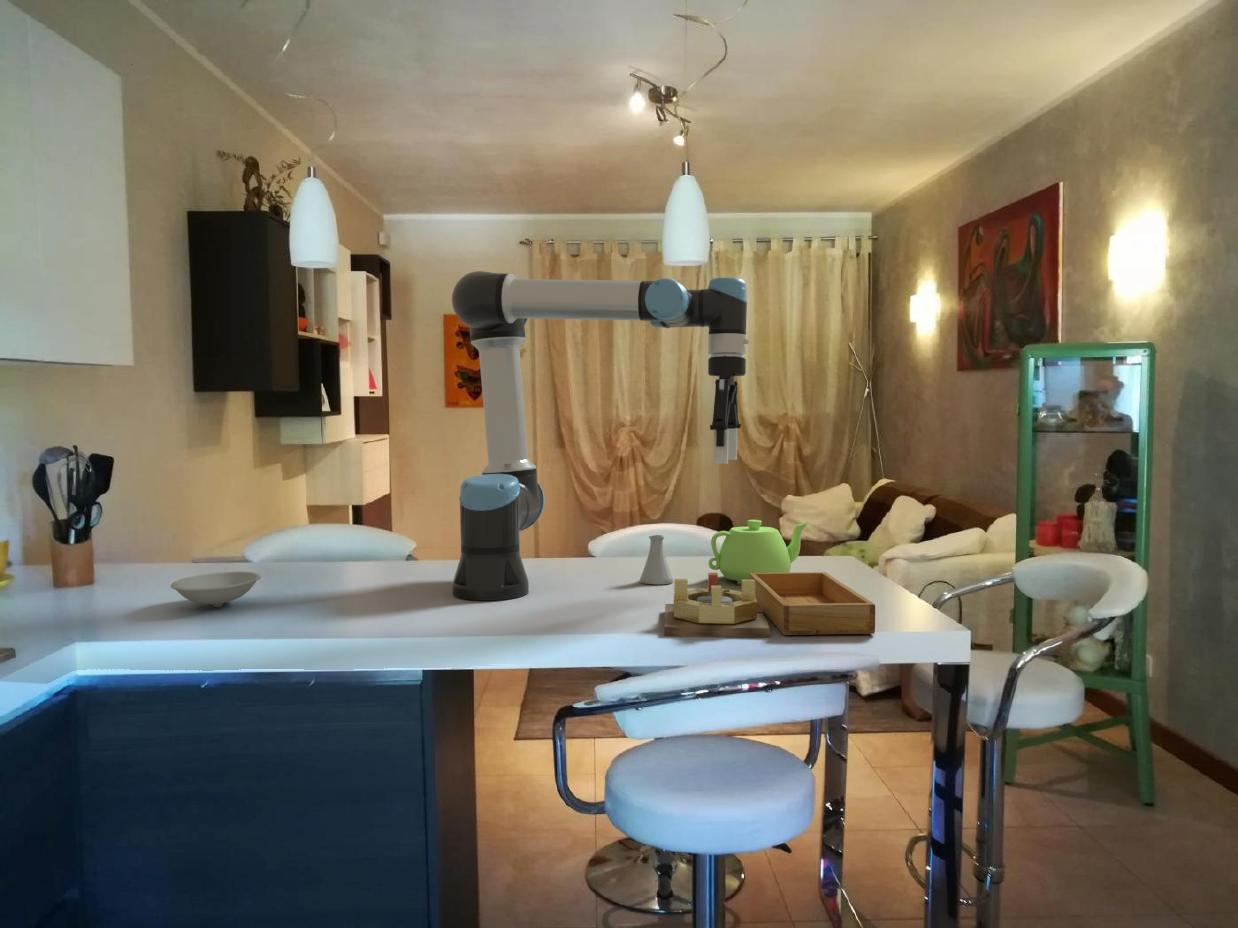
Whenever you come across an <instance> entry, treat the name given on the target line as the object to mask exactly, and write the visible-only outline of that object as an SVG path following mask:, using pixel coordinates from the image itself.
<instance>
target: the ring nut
mask: <svg viewBox="0 0 1238 928" xmlns="http://www.w3.org/2000/svg"><path fill="white" fill-rule="evenodd" d="M707 575H708V577H707V580H708V581H707V583H708V584H707V588H694V589H689V590H688V581H689V580H688V578H674V593H673V604H674V617H676V618H680V619H684V620H688V621H692V622H696V623H726V624H735V623H739V622H743V621H747V620H751V619H755V618H757V600H756V598H755V580H746V579H742V585H741V591H739V590H734V589H730V588H729V589H728V588H722V585H719V574H718V572H707ZM709 595H711V603H702V602H698V601H697V598H698V597H701V596H709ZM722 596H726V597H729V598H731V599H732V602H731V603H722Z"/></svg>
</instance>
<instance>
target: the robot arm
mask: <svg viewBox="0 0 1238 928" xmlns="http://www.w3.org/2000/svg"><path fill="white" fill-rule="evenodd" d="M747 297H748V296H747V283H746V281H744V279H742V278H739V277H729V276H728V277H724V276H723V277H714V278H712V279H710V280H709V283H708V287H707V288H703V289H686V288H685V287H684V285H683V284H682V283H681V282H680V281H678V280H677V281H676V280H675V279H673V278H668V277H667V278H664V277H663V278H659V279H656V280H619V279H618V280H615V279H614V280H613V279H611V280H608V279H607V280H606V279H603V280H602V279H550V278H549V279H547V278H546V279H543V278H542V279H541V278H538V279H537V278H535V279H533V278H517V277H516V275H514V274H513V273H500V272H491V271H490V272H489V271H482V270H479V271H471V272H468V273H467V274H465V275H463V276H462V277H460V279H459V280H458V281H457V283H456V284H455V286H454V287H453V291H452V294H451V302H452V303H451V304H452V308H453V311H454V313H455V315H456V316H457V318H458V319H459V321H460V322H462V324H464V325H465V326H468V327H469V336H470V337H469V338H470V344H471V345H472V346H473V347H475V348H476V349H477V351H478V355H479V357H478V358H479V365H480V378H481V389H482V390H481V392H482V402H483V404H482V405H483V414H484V426H485V427H484V428H485V437H486V438H485V439H486V450H487V461H488V462H487V465H486V466H485V467H484V468H483V470H482V471H481V475H474V476H470V477H468V478H466V479H464V480H463V481H462V483H461V485H460V491H459V493H460V494H459V500H458V501H459V513H460V515H459V517H460V522H459V523H460V557H459V562H458V565H457V568H456V571H455V574H454V578H453V581H452V596H453V597H456V598H459V599H463V600H470V601H499V600H500V601H501V600H511V599H514V598H515V599H516V598H520V597H523V596H525V595H528V594H529V587H530V586H529V583H530V582H529V577H528V575H527V572H526V570H525V567H524V563H523V560H522V556H521V554H520V553H521V552H520V547H521V546H520V543H521V542H520V532H521V531H525V530H527V529H529V528H530V527H531V526H533V525H534V524H535V523H536V522H537V521H538V520H539V519H540V518H541V516H542V514H543V511H544V509H545V504H546V498H545V497H546V496H545V493H544V490H543V488H542V486H541V484H540V483H539V482H538V473H537V465H535V464H534V463H532V461H530V458H529V452H528V450H529V449H528V437H527V435H528V434H527V427H526V426H527V425H526V414H525V413H526V411H525V401H524V400H525V399H524V388H523V377H522V366H521V365H522V364H521V363H522V362H521V354H520V352H521V351H520V348H521V346H522V345H523V344H524V342H526V338H527V337H526V327H525V326H526V324H527V322H528V320H529V319H535V320H537V319H540V320H541V319H542V320H543V319H544V320H545V319H546V320H588V321H589V320H591V321H593V320H595V321H597V320H598V321H640V322H641V321H644V322H650V325H651V326H652V327H654V328H664V329H670V328H697V327H698V328H705V327H706V328H707V327H708V337H707V338H708V339H707V341H708V342H707V343H708V344H707V345H708V346H707V353H708V355H710V357H709V358H708V359H707V363H708V366H707V367H708V369H707V373H708V376H711V377H718V379H717V378H716V379H715V381H714V383H715V388H714V389H715V391H714V392H715V393H714V403H713V414H712V415H713V416H712V422H711V424H710V425H709V430H711V431H713V464H717V465H718V464H719V465H720V464H721V465H722V464H723V465H728V464H729V460H730V461H731V460H732V461H733V460H734V461H737V460H738V429H742V423H740V421H739V408H738V407H739V406H738V381H737V380H735V377H744V376H745V375H746V372H747V371H746V369H747V368H746V365H747V364H746V363H747V359H746V357H744V356H743V355H745V354H747V352H746V349H747V348H746V345H748V344H749V343H750V340H749V339H747V336H746V335H747V315H748V313H747V311H748V309H747V308H748V307H747V305H748V301H747V299H748V298H747Z"/></svg>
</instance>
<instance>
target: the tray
mask: <svg viewBox="0 0 1238 928" xmlns="http://www.w3.org/2000/svg"><path fill="white" fill-rule="evenodd" d="M749 580H755V598H756V600H757V605H760V607H761V610H763V611H765V613H763V614H764V616H766V617H767V618H768V619H769V620H770V621H771V622H772V624H774V625H775V627H776V628H777V629H778V630H779V632H781V633H782V635H784V636H805V635H806V636H810V635H811V636H813V635H868V634H869V635H870V634H871V635H874V634H876V603H874V602H873V601H871V600H869V599H868V598H866V597H865V596H863V595H861V594H860V593H858V592H857V591H856V590H854V589H852V588H851V587H850V586H847V585H846V584H845V583H843V582H841V581H840V580H838V579H837V578H835V577H834V576H832V575H831V574H830V573H827V572H826V571H824V572H823V571H819V572H818V571H813V572H811V571H809V572H806V571H805V572H803V571H801V572H799V571H798V572H796V571H795V572H791V571H790V572H789V573H749Z"/></svg>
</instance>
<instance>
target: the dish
mask: <svg viewBox="0 0 1238 928" xmlns="http://www.w3.org/2000/svg"><path fill="white" fill-rule="evenodd" d="M261 577H262V575H261V574H260V573H258V572H254V571H245V570H244V571H242V570H238V571H233V570H232V571H219V572H210V573H203V574H197V575H191V576H188V577H185V578H181V579H177V580H176V581H173V582H172V583H171V584H170V588H171V589H173V590H176V591H177V592H178V593H179V594H180V595H181V596H182V597H183V598H184V599H186V600H188V601H190V602H191V603H195V604H200V605H212V607H214V608H215V607H216V608H220V607H223V605H224V603H229V602H231V601H235V600H238V599H239V598H241V597H244V596H245V594H247V593H248V592H250V590H251V589H252V588H253V587H254V586H255V584H256V583H257V581H259V580H260V579H261Z"/></svg>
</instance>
